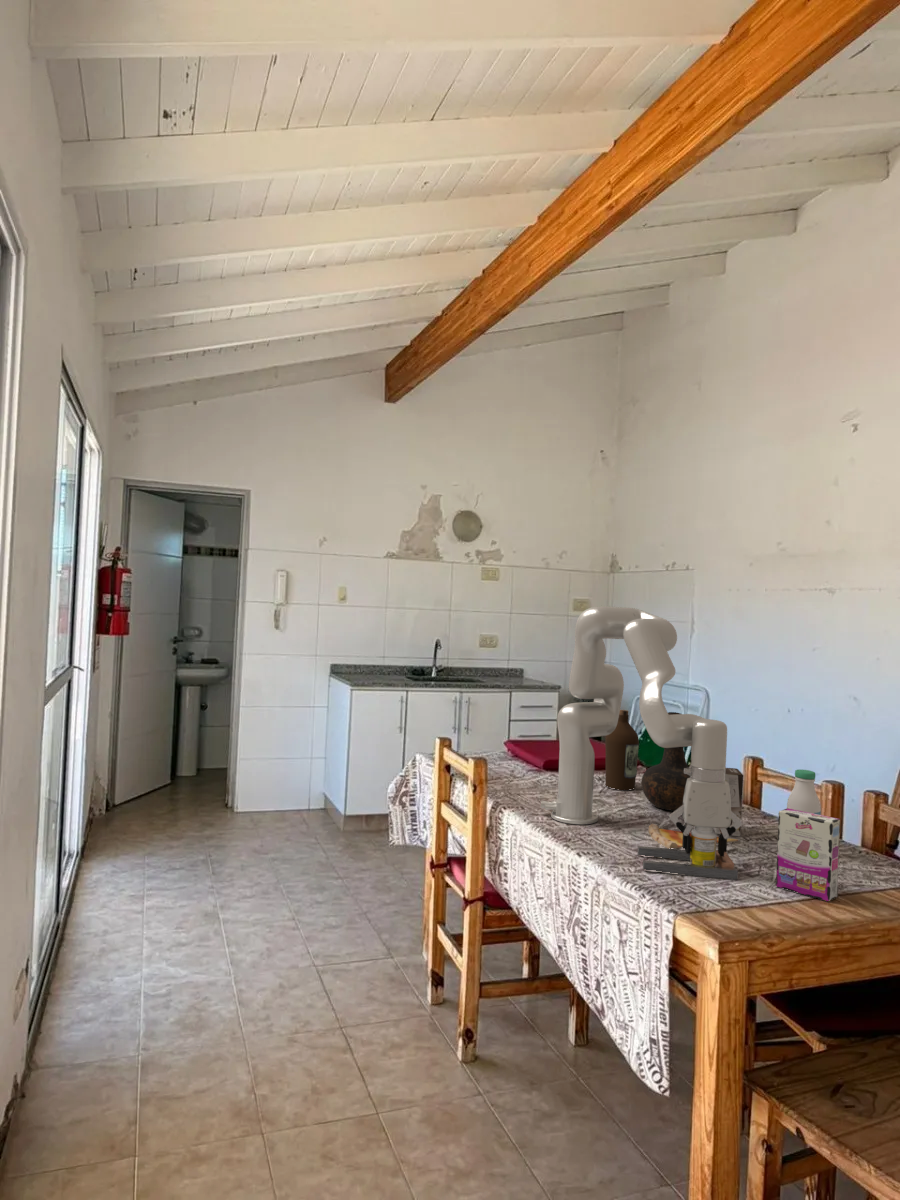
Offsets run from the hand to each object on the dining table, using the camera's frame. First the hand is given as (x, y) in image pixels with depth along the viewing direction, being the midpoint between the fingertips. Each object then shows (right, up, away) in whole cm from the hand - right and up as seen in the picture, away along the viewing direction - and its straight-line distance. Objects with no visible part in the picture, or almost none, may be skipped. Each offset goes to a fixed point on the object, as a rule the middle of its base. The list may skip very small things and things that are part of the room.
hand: (704, 852), depth 176 cm
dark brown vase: (+8, -4, +53) cm, 54 cm away
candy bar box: (+17, -5, -12) cm, 22 cm away
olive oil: (-2, -4, +76) cm, 76 cm away
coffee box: (+16, -5, +31) cm, 35 cm away
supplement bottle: (0, -4, 0) cm, 4 cm away
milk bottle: (+29, -5, +15) cm, 33 cm away
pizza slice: (+3, -4, +19) cm, 19 cm away
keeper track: (-4, -3, +1) cm, 5 cm away
